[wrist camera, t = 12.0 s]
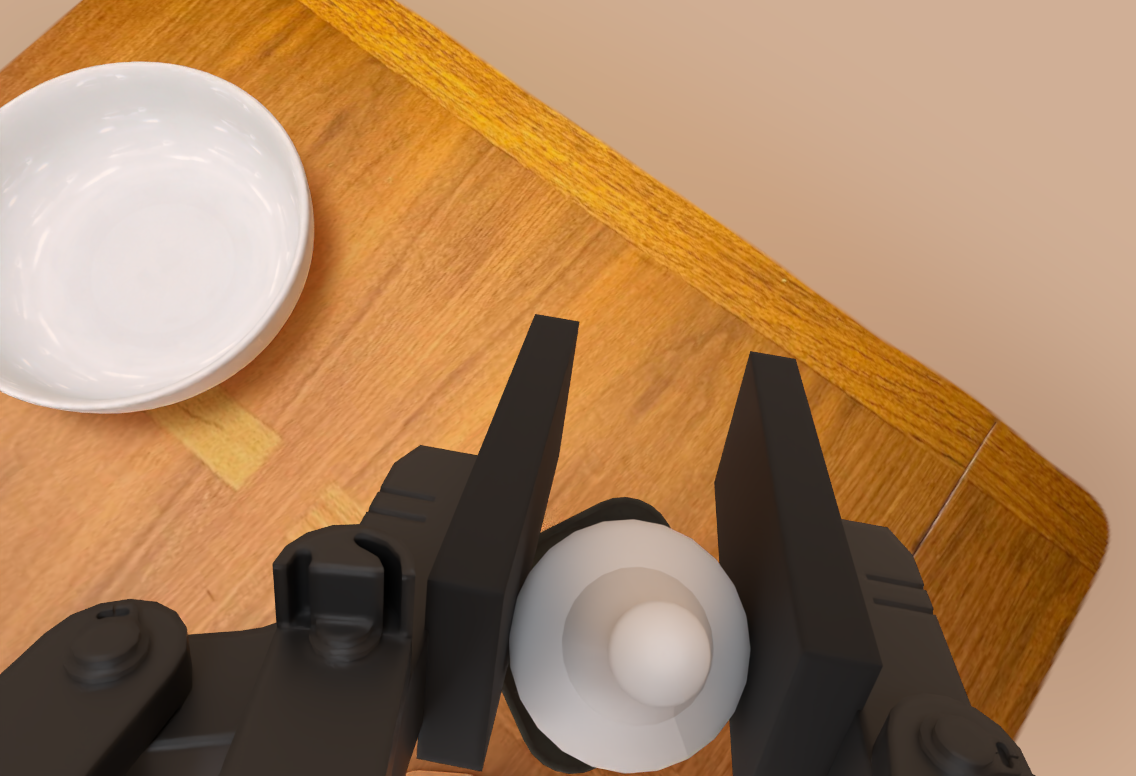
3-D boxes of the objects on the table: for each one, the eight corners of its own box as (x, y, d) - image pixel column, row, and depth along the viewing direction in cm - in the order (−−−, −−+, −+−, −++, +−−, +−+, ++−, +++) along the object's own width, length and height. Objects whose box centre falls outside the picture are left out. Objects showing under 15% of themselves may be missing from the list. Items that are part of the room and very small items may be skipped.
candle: (676, 655, 30) (1134, 817, 6) (555, 720, 29) (508, 1205, 5) (613, 532, 31) (779, 252, 7) (496, 592, 30) (239, 508, 6)
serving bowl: (188, 507, 45) (124, 489, 39) (-70, 315, 49) (-170, 268, 42) (408, 234, 50) (384, 176, 44) (160, 75, 53) (103, -1, 47)
